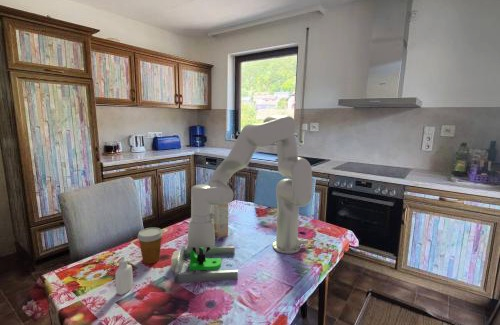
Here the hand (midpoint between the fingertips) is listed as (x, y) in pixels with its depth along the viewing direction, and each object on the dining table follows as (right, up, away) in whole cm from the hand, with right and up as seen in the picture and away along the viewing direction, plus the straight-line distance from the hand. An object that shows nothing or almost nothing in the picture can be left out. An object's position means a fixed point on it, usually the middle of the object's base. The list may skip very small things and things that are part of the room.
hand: (201, 262), depth 102 cm
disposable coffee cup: (-21, -1, +5) cm, 22 cm away
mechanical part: (+1, -2, +1) cm, 3 cm away
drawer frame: (+1, -2, +1) cm, 2 cm away
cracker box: (+3, +3, +33) cm, 33 cm away
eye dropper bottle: (-23, -4, -14) cm, 27 cm away
